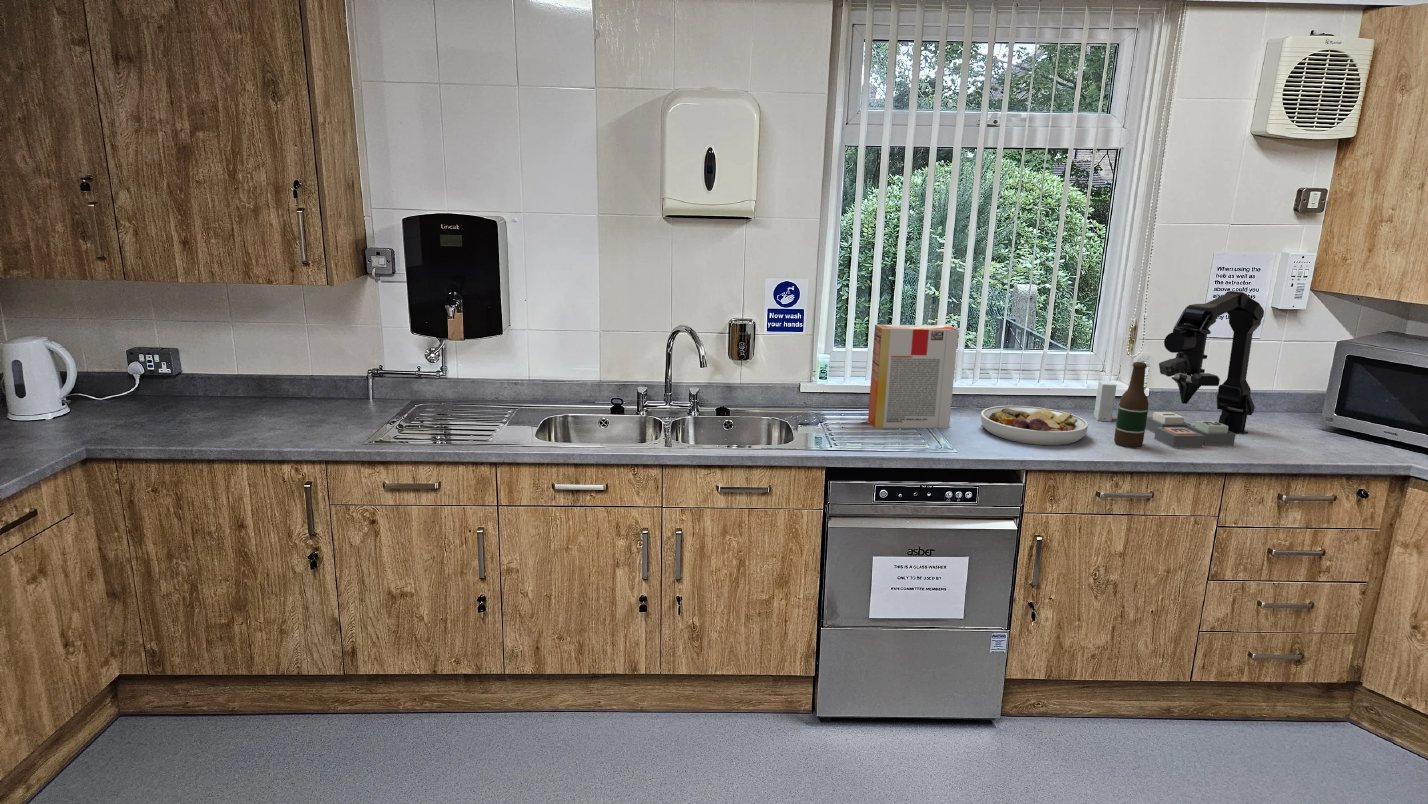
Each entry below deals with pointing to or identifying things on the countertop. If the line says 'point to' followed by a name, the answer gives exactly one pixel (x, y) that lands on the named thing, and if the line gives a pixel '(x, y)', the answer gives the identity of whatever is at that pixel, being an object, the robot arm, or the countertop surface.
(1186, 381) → the robot arm
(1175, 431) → the tile
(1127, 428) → the beer bottle
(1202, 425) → the tile
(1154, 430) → the tile collars
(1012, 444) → the countertop surface
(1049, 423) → the bowl
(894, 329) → the pasta box
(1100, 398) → the skincare box
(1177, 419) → the tile
